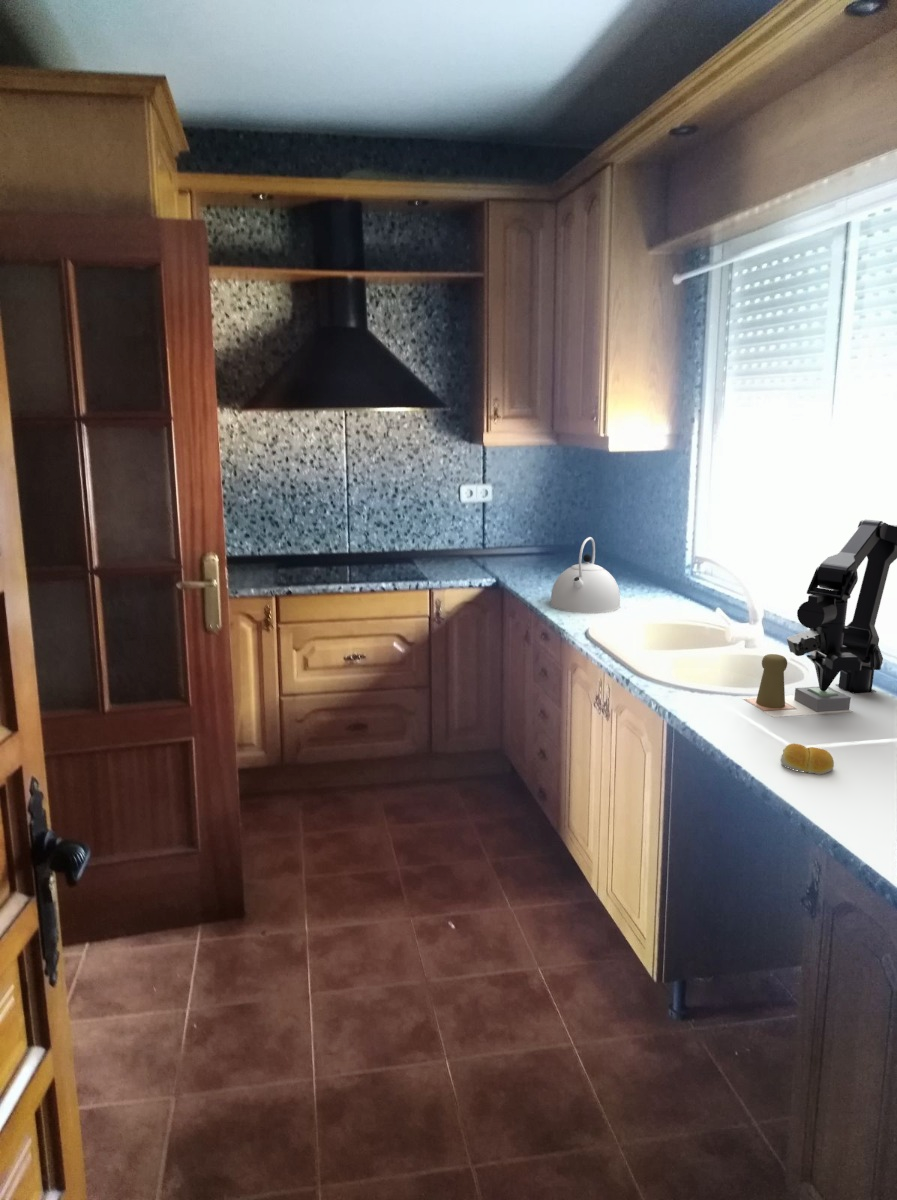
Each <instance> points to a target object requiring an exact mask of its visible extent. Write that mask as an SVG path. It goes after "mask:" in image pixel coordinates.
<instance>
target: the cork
mask: <svg viewBox="0 0 897 1200" xmlns="http://www.w3.org/2000/svg"><path fill="white" fill-rule="evenodd" d="M761 666H762V668H763V672H762V676H761V680H760V684H759V688H758V693H757V696H756V698H757V700H756V703H757V704H758V705H760V706H763V707H768V708H783V707H785V696H786V695H785V693H786V691H785V671H786V669H787V667H788V660H787V658H786V657H785V656H783V655H781V654H774V653H769V654H766V655H764V656H763V657H762V660H761Z"/></svg>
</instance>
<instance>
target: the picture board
mask: <svg viewBox="0 0 897 1200" xmlns="http://www.w3.org/2000/svg"><path fill="white" fill-rule="evenodd" d="M809 688H820V687H819V686H806V687H795V690H794V694H792V695H785V707H783V708H768V707H763V706H760V705H758V704H757V703H756V700H757V697H749V698H747V697H744V698H743V700H744V701H745V702H747V703H748V704H750V705H752V706H754V707H755V708H757V709H758V710H760V711H762V712H764V713H765V714H767V715H768V716H770V717H771V718H781V717H796V716H809V715H810V716H811V715H821V714H823V715H825V714H836V713H837V714H838V713H850V712H853V711H852V710H850V707H851V706H850V705H851V698H852V697H851V696H849V695H847V694H844V693H842V691H841V692H840V691H839V690H837V689H834V688H832V687H831V686H829V687H828V689H829V690H831V691H833V692H836V693H837V696H825V697H819V696H817V695H815V694H813V693H811V692H809Z"/></svg>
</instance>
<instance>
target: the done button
mask: <svg viewBox="0 0 897 1200" xmlns="http://www.w3.org/2000/svg"><path fill="white" fill-rule="evenodd" d="M809 692H811V693H813V694H815V695H817V696H819V697H825V696H837V693H836V692H833V691H831V690H829V689H827V690H826V691H822V690H820V688H809Z"/></svg>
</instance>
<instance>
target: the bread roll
mask: <svg viewBox="0 0 897 1200" xmlns="http://www.w3.org/2000/svg"><path fill="white" fill-rule="evenodd" d="M780 763H782V764H781V765H782V766H783V765H784V766H786V767H789V768H791V769H794V770H798V771H804V772H803V773H809V772H810V773H809V774H811V773H816V774H815V775H818V774H821V775H825V774H827V773H829V772H831V771H833V770H834V767H835V761H834V757H833V756H832V754H831V753H830V752H829V751H828V750H826V749H823V748H820V747H813V746H812V747H811V746H810V747H807V746H805V745H802V744H799V743H790V744H788V745H786V746H785V748H783V750H782V754H781V757H780ZM784 766H783V767H784ZM786 767H785V768H786ZM789 768H788V769H789ZM791 769H790V770H791ZM794 770H793V771H794ZM798 771H797V772H798ZM824 773H825V774H824Z"/></svg>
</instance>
